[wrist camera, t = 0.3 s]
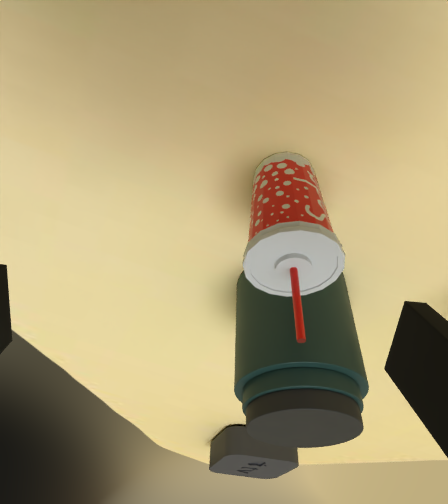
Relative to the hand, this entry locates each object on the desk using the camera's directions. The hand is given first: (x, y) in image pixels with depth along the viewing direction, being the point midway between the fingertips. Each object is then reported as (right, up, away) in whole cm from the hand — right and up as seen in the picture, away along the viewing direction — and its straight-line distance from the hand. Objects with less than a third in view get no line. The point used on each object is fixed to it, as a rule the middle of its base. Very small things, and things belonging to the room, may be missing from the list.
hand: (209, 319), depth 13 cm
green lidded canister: (+7, -1, +26) cm, 27 cm away
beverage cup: (+5, +8, +16) cm, 19 cm away
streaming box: (+6, -35, +63) cm, 72 cm away
